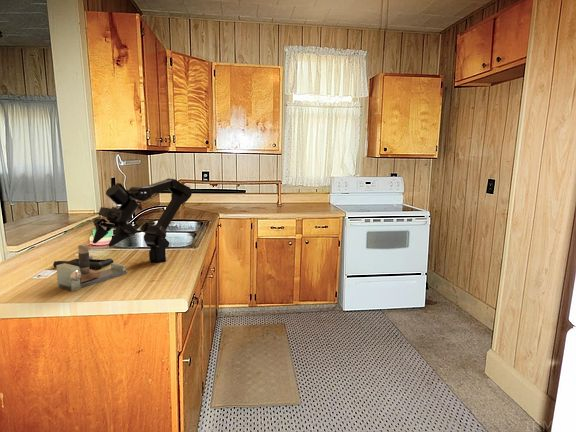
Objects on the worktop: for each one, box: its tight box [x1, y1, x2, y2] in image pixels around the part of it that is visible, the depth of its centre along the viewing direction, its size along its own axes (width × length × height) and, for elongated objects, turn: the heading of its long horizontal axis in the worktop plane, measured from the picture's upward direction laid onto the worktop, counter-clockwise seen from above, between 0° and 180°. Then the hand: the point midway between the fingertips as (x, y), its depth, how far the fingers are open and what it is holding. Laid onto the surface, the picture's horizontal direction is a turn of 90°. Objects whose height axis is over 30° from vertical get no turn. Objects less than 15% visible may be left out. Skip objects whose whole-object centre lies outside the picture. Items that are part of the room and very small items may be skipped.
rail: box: [55, 262, 127, 292], centre depth 131 cm, size 22×9×8 cm, turn 153°
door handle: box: [52, 255, 114, 271], centre depth 151 cm, size 3×20×16 cm
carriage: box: [77, 244, 100, 282], centre depth 128 cm, size 7×6×12 cm
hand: (101, 244), depth 133 cm, fingers open, 9 cm apart
